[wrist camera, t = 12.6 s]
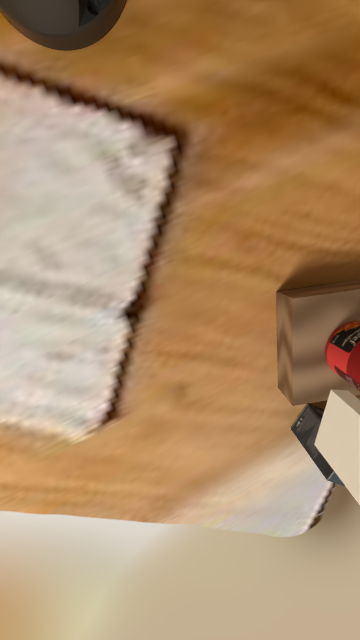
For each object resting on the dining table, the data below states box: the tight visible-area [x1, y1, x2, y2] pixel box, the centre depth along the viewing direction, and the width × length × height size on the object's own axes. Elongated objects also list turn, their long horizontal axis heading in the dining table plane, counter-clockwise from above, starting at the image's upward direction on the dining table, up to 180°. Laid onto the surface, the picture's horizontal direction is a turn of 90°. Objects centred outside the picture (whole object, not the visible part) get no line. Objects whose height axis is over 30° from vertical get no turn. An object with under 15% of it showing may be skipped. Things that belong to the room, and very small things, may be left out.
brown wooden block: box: [276, 280, 360, 406], centre depth 39 cm, size 16×16×5 cm
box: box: [291, 404, 345, 486], centre depth 41 cm, size 8×6×11 cm
